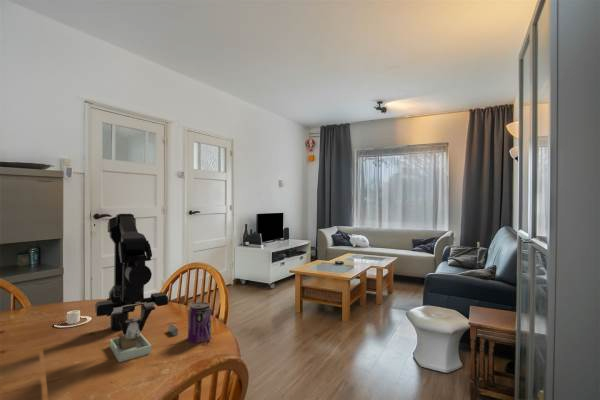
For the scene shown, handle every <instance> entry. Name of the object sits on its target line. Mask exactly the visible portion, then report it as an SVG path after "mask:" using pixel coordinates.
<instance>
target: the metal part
mask: <svg viewBox="0 0 600 400" xmlns="http://www.w3.org/2000/svg"><path fill="white" fill-rule="evenodd" d="M125 328H126V333H125V338H127V339H131V338H136V337H138V336H140V333H141V331H140V317H139V318H137V317H135V318H129V319H128V320H126V321H125Z"/></svg>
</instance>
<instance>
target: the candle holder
mask: <svg viewBox="0 0 600 400" xmlns="http://www.w3.org/2000/svg"><path fill="white" fill-rule="evenodd" d="M80 317H81V318H86V319H87V320H86V319H85V320H86V321H84V322H82V323H80V322H79V321H81V319H80ZM66 318H67V321H66V324H67V323H68V324H67V325H60V324H59V325H58V326H57V325H54V328H72V327H78V326H82V325H83V324H87V323H89V322H91V320H92V317H91V316H86V315H81V310H79V309H78V310H77V309H76V310H75V309H74V310H71V311H67V312H66ZM77 322H78V323H77ZM73 323H75V324H73Z"/></svg>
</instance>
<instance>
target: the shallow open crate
mask: <svg viewBox="0 0 600 400" xmlns="http://www.w3.org/2000/svg"><path fill="white" fill-rule="evenodd" d="M109 347H110V349H111V351H112V353H113V354H114V356H115V358H116V359H117V361H118V363H121V362H124V363H125V362H127V361H129V360H132V359H136V358H140V357H143V356H145V357H146V356H147V357H148V355H150V354H152V353H153V352H152V351H153V349H152V348H153V347H152V344H151V343H150V342H149V341H148V340H147V338H146V337H145V336H144V335H143V334H142V333H141V332H140V336H138V337H136V346H135V347H131V348H127V349H123V350H122V349H121V348H120V346H119V336H118V337H114V338H110V339H109Z"/></svg>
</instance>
